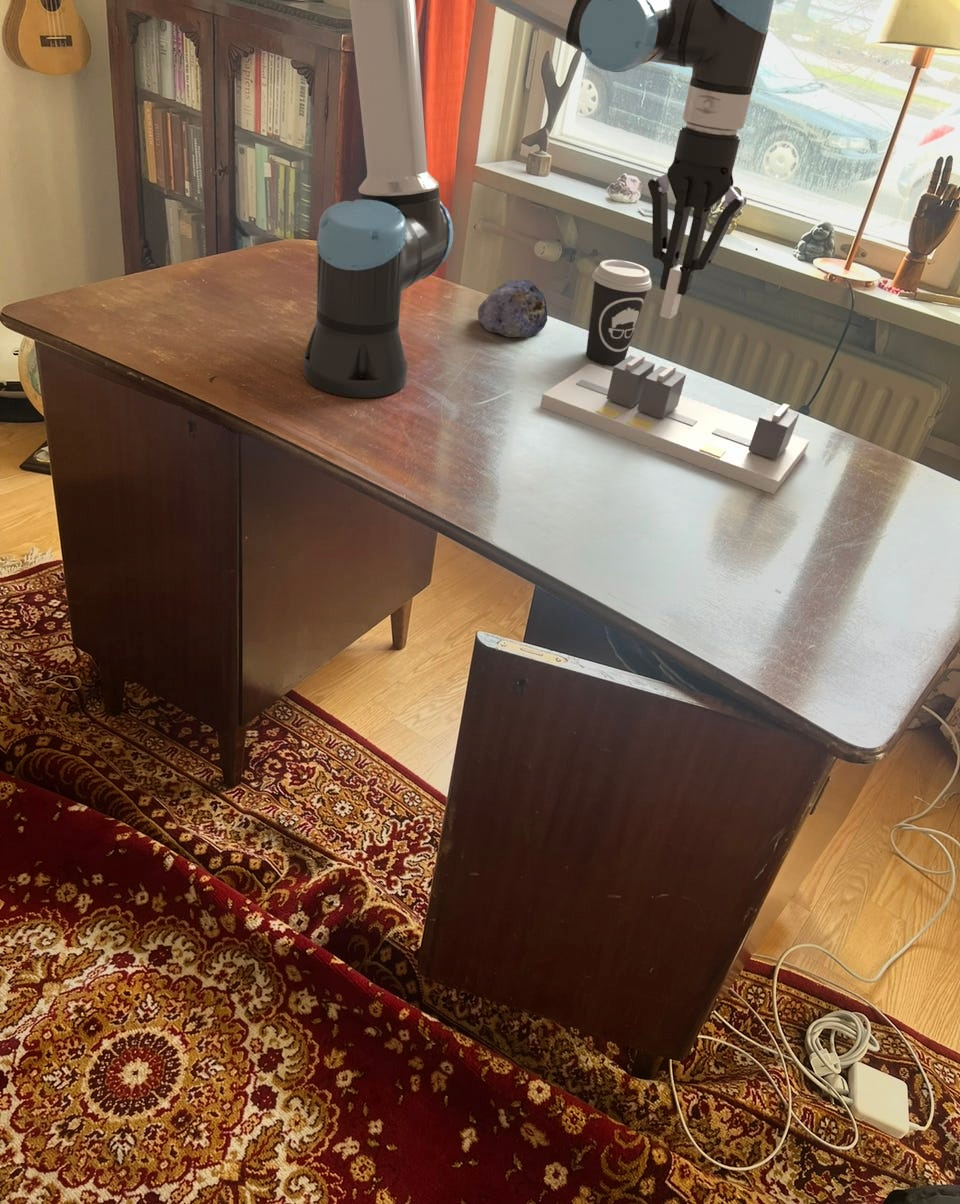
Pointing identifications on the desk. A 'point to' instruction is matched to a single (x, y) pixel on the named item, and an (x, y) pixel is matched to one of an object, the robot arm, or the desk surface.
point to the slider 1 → (629, 380)
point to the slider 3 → (773, 431)
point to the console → (676, 430)
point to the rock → (514, 310)
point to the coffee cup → (615, 309)
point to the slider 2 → (661, 391)
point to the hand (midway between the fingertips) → (668, 315)
